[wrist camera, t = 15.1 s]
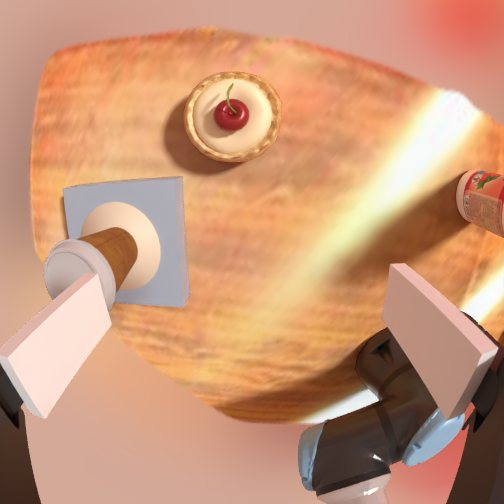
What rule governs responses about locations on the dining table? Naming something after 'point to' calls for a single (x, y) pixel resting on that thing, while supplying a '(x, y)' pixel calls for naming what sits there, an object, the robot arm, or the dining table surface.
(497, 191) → the fruit juice
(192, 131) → the pastry
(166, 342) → the dining table surface
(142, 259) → the serving stand
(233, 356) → the dining table surface
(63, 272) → the disposable coffee cup
